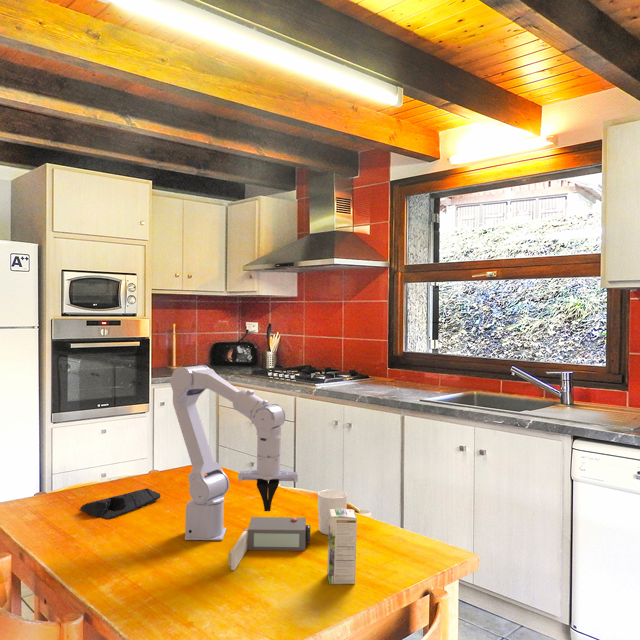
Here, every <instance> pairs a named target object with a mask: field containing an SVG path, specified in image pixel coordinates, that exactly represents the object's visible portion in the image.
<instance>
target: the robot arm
mask: <svg viewBox="0 0 640 640" xmlns="http://www.w3.org/2000/svg"><path fill="white" fill-rule="evenodd" d="M169 383H170V387H171V390H172V405H173V408H174V411H175V415H176V419H177V422H178V424H179V429H180V431H181V435H182V437H183V441H184V444H185V446H186V449H187V453H188V457H189V460H190V463H191V466H192V467H191V471H190V472H189V474H188V477H187V479H188V483H189V487H188V488H189V495H190V498H191V500H188V501H187V503H186V507H185V529H184V530H185V531H184V534H185V535H184V540H185V541H222V540H224V536H225V535H226V531H227V527H224V499H225V498H226V497H225V496H226V495H225V494H227V492H228V491H229V489H230V480H229V476H228V475H227V474H226V473H225V472H224V470H223V468H222V465H221V464H220V463H219V462H217V461H215V460H214V458H213V455H212V452H211V448H210V446H209V442H208V439H207V437H206V433H205V430H204V427H203V423H202V420H201V418H200V414H199V410H198V408H197V405H196V404H197V401H198V400H199V397H200V396H201V395H202V394H203V393H204V391H206V389H207V390H210V391H212V392H213V393H215V394H217V395H219V396H221V398H225V399H226V400H228V401H229V402H231V403H232V407H233V409H234V411H237V412H238V413H240V414H241V415H243V416H245V417H246V418H248V419H249V420H251V421H252V423H253V426H254V427H255V429H256V435H257V442H256V443H257V444H256V446H257V447H256V470H255V469H254V470H239V471H238V473H237V475H238V476H237V477H238V478H237V480H238V481H239V482H240V481H241V482H243V481H256V488H257V489H258V492H259V495H260V496H261V499H262V504H263V510H264V512H271V508H272V501H273V499H274V495H275V493H276V491H277V489H278V486H279V484H280V482H293V483H297V482H299V481H298V480H299V472H298V471H287V470H286V471H285V470H281V444H282V443H281V442H282V441H281V440H282V437H281V436H282V426H283V425H284V423H285V421H286V412H285V410H284V408H283V407H282V406H281V405H279V404H278V403H272V404H270V403H269V402H270V401H268V400H267V399H262V398H261V397H260V396H258V395H256V394H255V391H254V390H252V389H242V390H239V389H238V388H237V387H235V386H234V385H232V384H231V383H229V381H227V380H225V379H224V378H223V377H221V376H220V375H219V374H217V373H216V371H215V370H214V369H213V368H211V367H208V365H205V364H199V365H195V366H179V367H177V368H176V369H175V370H173V373H172V374H171V377H170V378H169Z"/></svg>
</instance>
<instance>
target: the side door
mask: <svg viewBox="0 0 640 640" xmlns="http://www.w3.org/2000/svg"><path fill="white" fill-rule="evenodd" d="M247 551H248V528H244V529H243V532H242V534H241V535H240V536H239V538H238V540H237V541H236V542H235V544H234V546H233V547H232V548H231V550H229V552H228V567H230V570H231V571H236V569H237V567H238V565H239V564H240V563H241V560H242V558H243V557H244V556H245V554H246V553H247Z"/></svg>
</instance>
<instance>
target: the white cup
mask: <svg viewBox="0 0 640 640" xmlns="http://www.w3.org/2000/svg"><path fill="white" fill-rule="evenodd" d="M347 502H348V493H347V491H345V490H340V489H329V488H328V489H324V490H323V489H322V490H320V491H318V492H317V512H318V531H319V532H320V533H321V534H323V535H326V536H328V535H329V510H330V509H348V508H347V506H348V503H347Z"/></svg>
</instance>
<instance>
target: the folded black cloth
mask: <svg viewBox="0 0 640 640" xmlns="http://www.w3.org/2000/svg"><path fill="white" fill-rule="evenodd" d="M161 497H162V495H161V493H159V492H157V491H155V490H153V489H150V488H148V487H146V488H143V489H138V490H134V491H130V492H126V493H123V494H118V495H115V496H110V497H107V498H103V499H98V500H94V501H90V502H86V503H84V504H83V505H82V506H80V509H79V511H80V512H83V513H84V514H87V515H88V516H90V517H94V518H99V519H100V518H101V519H107V520H111V519H115V518H116V517H120V516H123V515H127V514H128V512H129V513H131V512H133V511H135V510H138V509H141V508H143V507H142V506H144V507H145V505H146V506H148V505H147V504H149V505H151V504H153V503H154V502H156V501H157V500H159V499H161ZM152 502H153V503H152ZM150 503H151V504H150ZM137 508H138V509H137ZM110 510H111V511H110ZM119 515H120V516H119Z"/></svg>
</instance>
